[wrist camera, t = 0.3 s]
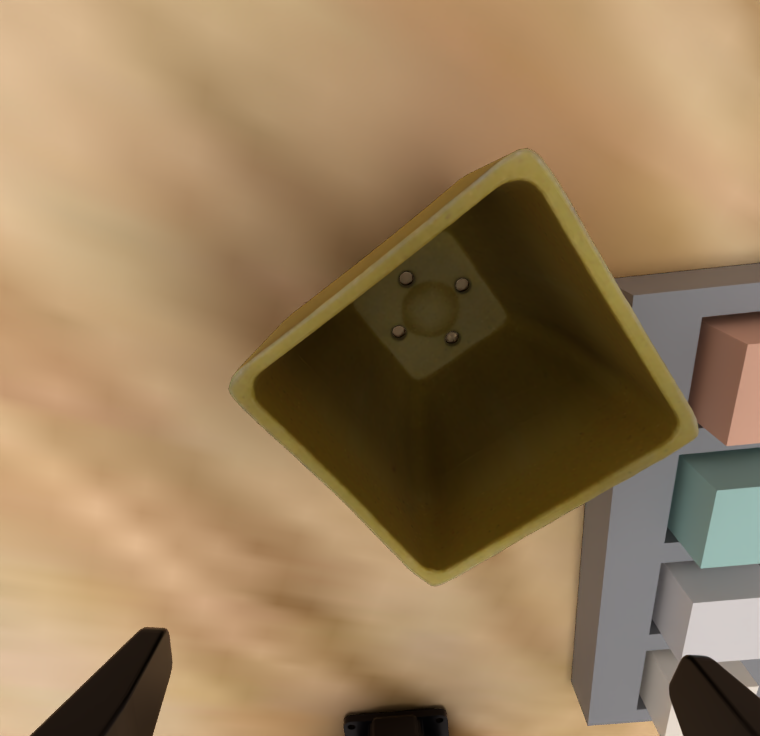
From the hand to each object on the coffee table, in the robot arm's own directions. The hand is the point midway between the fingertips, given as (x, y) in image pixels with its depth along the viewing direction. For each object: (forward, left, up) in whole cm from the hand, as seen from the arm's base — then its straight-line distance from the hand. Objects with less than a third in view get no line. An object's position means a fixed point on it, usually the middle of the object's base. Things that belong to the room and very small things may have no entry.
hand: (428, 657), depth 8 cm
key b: (-13, -14, -12) cm, 23 cm away
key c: (-7, -14, -12) cm, 20 cm away
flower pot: (+2, -2, -14) cm, 14 cm away
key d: (-1, -14, -12) cm, 18 cm away
